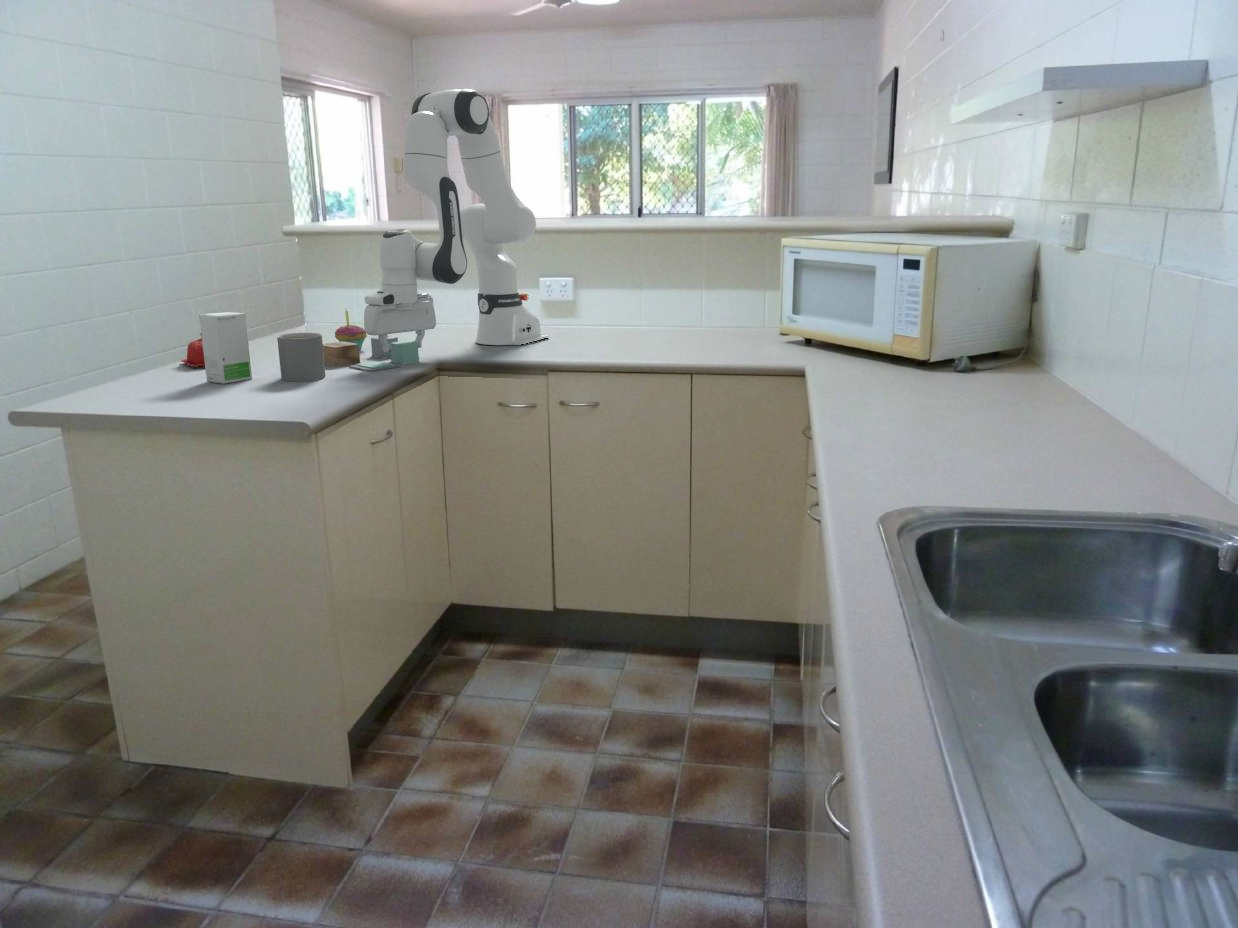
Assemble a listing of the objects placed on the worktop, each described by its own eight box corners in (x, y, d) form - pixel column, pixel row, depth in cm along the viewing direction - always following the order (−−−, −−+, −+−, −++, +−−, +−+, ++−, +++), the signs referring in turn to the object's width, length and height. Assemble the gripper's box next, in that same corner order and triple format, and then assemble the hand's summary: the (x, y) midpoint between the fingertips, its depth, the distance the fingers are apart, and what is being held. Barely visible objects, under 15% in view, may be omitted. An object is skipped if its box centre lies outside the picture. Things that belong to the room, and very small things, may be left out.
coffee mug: (323, 381, 218) (319, 338, 215) (278, 382, 216) (274, 339, 213) (328, 370, 230) (325, 330, 227) (286, 372, 228) (282, 331, 226)
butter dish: (179, 364, 240) (175, 331, 237) (226, 359, 247) (222, 327, 244) (191, 371, 231) (187, 336, 229) (239, 365, 238) (235, 332, 236)
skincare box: (222, 384, 213) (214, 316, 209) (204, 381, 217) (196, 314, 212) (254, 378, 220) (246, 312, 216) (236, 376, 223) (228, 310, 219)
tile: (379, 362, 240) (379, 360, 240) (401, 366, 235) (400, 364, 235) (349, 367, 234) (349, 364, 234) (370, 372, 228) (370, 369, 228)
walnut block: (344, 360, 245) (342, 341, 244) (360, 363, 241) (358, 344, 239) (320, 364, 240) (319, 344, 239) (336, 367, 236) (335, 347, 234)
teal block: (407, 359, 246) (405, 340, 244) (418, 361, 243) (417, 342, 241) (391, 362, 242) (390, 342, 241) (403, 364, 239) (402, 344, 238)
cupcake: (362, 353, 254) (359, 309, 251) (331, 353, 255) (327, 309, 251) (371, 348, 263) (368, 305, 259) (341, 348, 263) (337, 305, 259)
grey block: (387, 354, 254) (386, 335, 253) (399, 356, 251) (397, 337, 250) (372, 356, 250) (370, 337, 249) (383, 358, 247) (382, 339, 246)
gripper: (424, 292, 247) (427, 344, 251) (358, 297, 232) (362, 352, 236) (440, 293, 243) (442, 346, 247) (374, 299, 228) (377, 355, 232)
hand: (402, 349), depth 241 cm, fingers open, 8 cm apart
